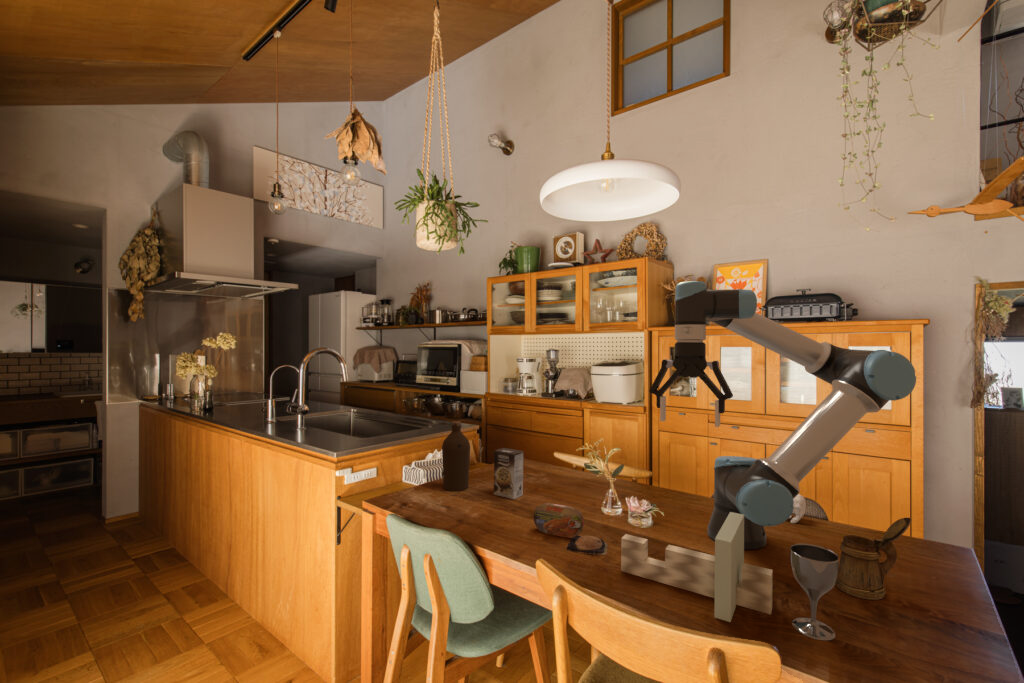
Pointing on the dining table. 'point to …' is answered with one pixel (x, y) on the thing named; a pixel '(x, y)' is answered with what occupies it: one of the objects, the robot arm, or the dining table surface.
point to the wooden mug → (868, 562)
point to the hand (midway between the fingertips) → (689, 423)
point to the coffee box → (508, 473)
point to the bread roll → (587, 545)
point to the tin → (558, 520)
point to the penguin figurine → (798, 508)
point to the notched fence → (695, 572)
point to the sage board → (728, 565)
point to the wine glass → (814, 584)
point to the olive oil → (456, 460)
